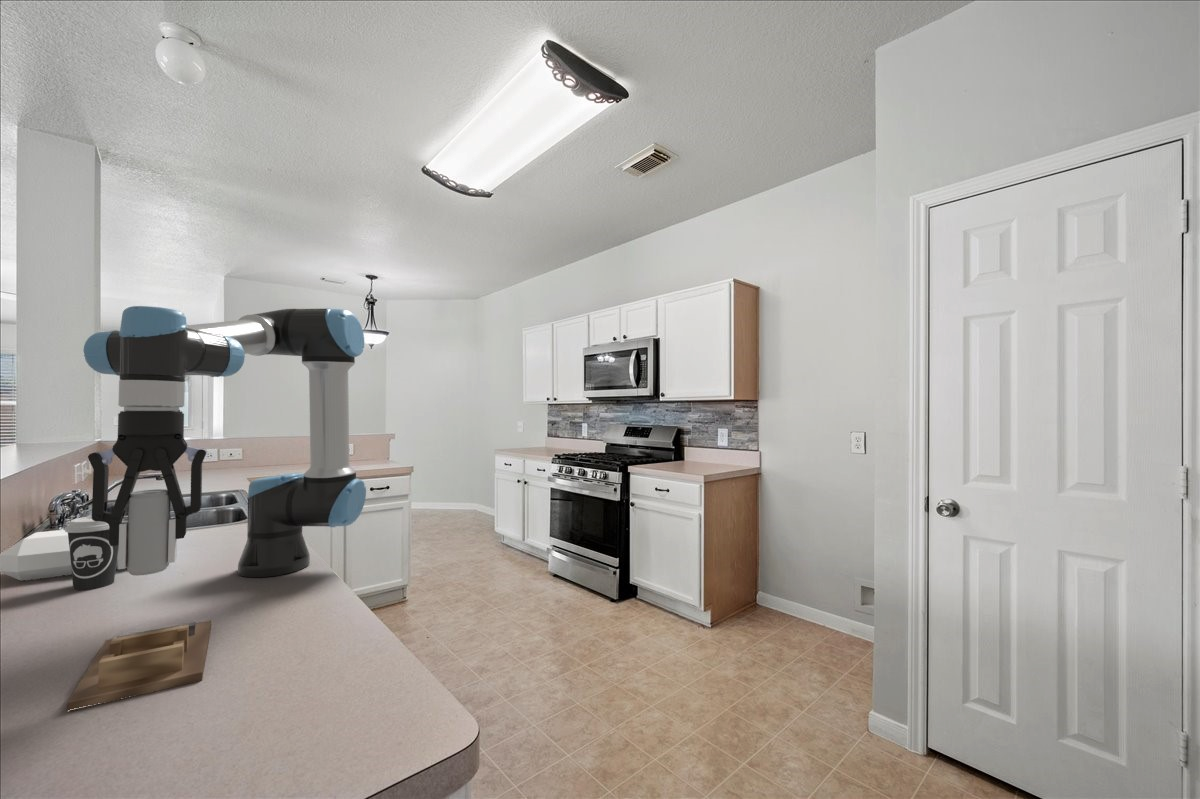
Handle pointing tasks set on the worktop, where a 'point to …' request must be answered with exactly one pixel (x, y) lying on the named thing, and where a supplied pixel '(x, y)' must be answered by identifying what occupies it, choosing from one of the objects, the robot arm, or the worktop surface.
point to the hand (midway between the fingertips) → (148, 563)
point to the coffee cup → (91, 554)
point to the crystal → (39, 556)
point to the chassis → (144, 664)
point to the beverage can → (148, 531)
